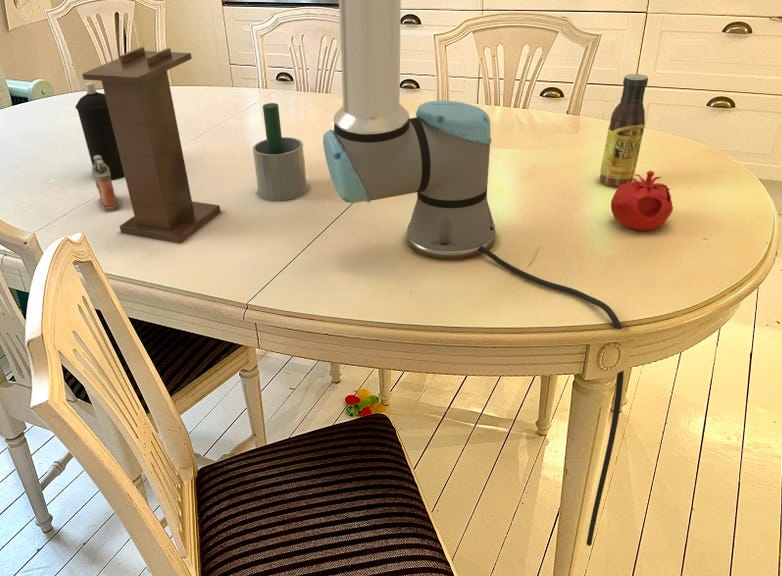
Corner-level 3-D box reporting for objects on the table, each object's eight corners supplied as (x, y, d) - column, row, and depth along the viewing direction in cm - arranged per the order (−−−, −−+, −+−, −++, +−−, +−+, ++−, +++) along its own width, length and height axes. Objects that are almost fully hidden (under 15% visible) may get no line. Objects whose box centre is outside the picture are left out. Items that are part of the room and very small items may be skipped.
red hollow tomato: (596, 221, 131) (603, 170, 126) (636, 205, 135) (645, 156, 129) (641, 241, 124) (651, 189, 119) (682, 224, 128) (694, 173, 122)
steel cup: (315, 192, 151) (311, 147, 146) (270, 204, 148) (265, 159, 142) (293, 177, 159) (289, 133, 153) (251, 188, 155) (245, 144, 150)
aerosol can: (121, 180, 165) (98, 88, 153) (87, 180, 166) (62, 89, 155) (136, 166, 171) (115, 77, 159) (103, 166, 173) (80, 78, 161)
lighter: (98, 198, 157) (86, 153, 151) (114, 195, 158) (103, 149, 152) (104, 212, 151) (91, 165, 145) (121, 209, 152) (109, 162, 146)
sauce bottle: (608, 190, 141) (625, 83, 130) (593, 178, 146) (608, 74, 135) (640, 185, 142) (660, 79, 130) (624, 173, 147) (642, 70, 135)
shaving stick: (265, 100, 145) (251, 108, 141) (289, 101, 143) (275, 110, 139) (274, 182, 155) (262, 192, 151) (297, 184, 153) (285, 195, 149)
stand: (165, 202, 153) (131, 43, 135) (222, 211, 147) (194, 45, 129) (119, 234, 142) (75, 65, 124) (178, 244, 137) (141, 69, 118)
